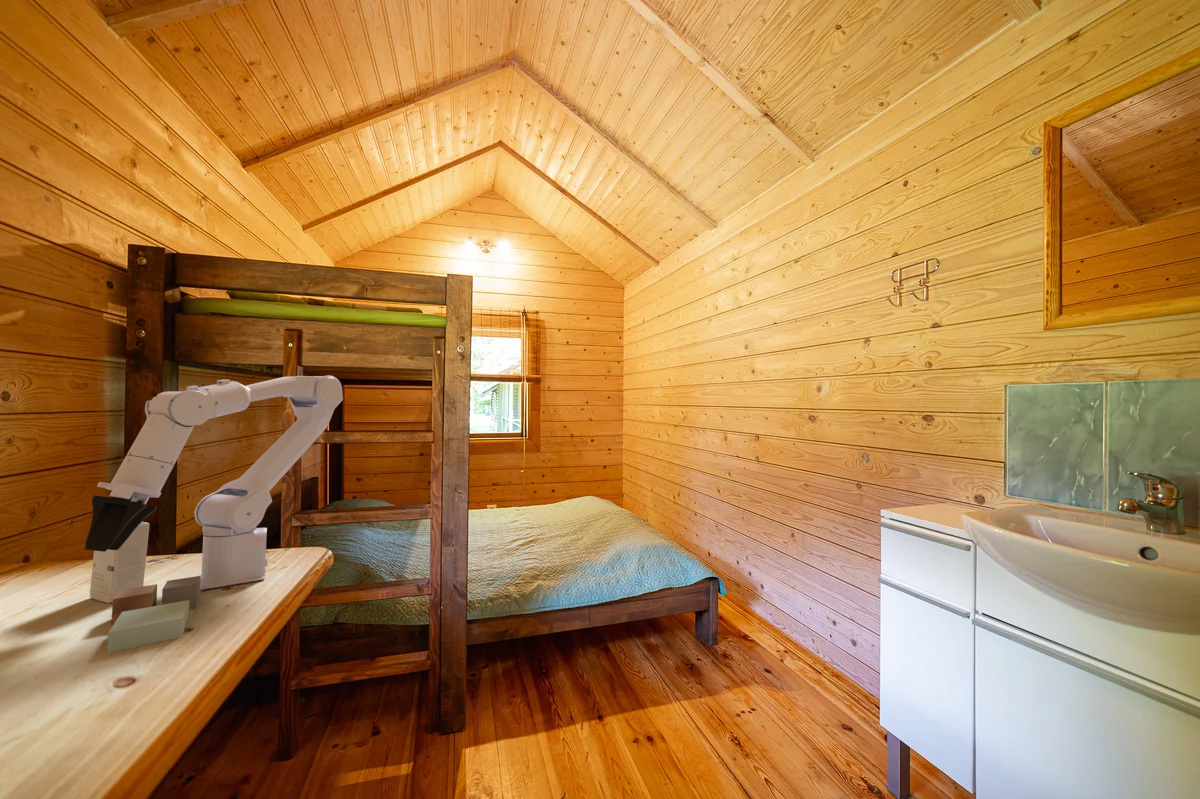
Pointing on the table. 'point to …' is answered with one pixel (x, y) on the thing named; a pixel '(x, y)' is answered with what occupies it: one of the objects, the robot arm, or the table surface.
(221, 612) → the table surface
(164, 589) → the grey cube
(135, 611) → the base block
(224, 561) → the robot arm
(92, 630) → the table surface
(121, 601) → the walnut cube
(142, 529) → the skincare box
